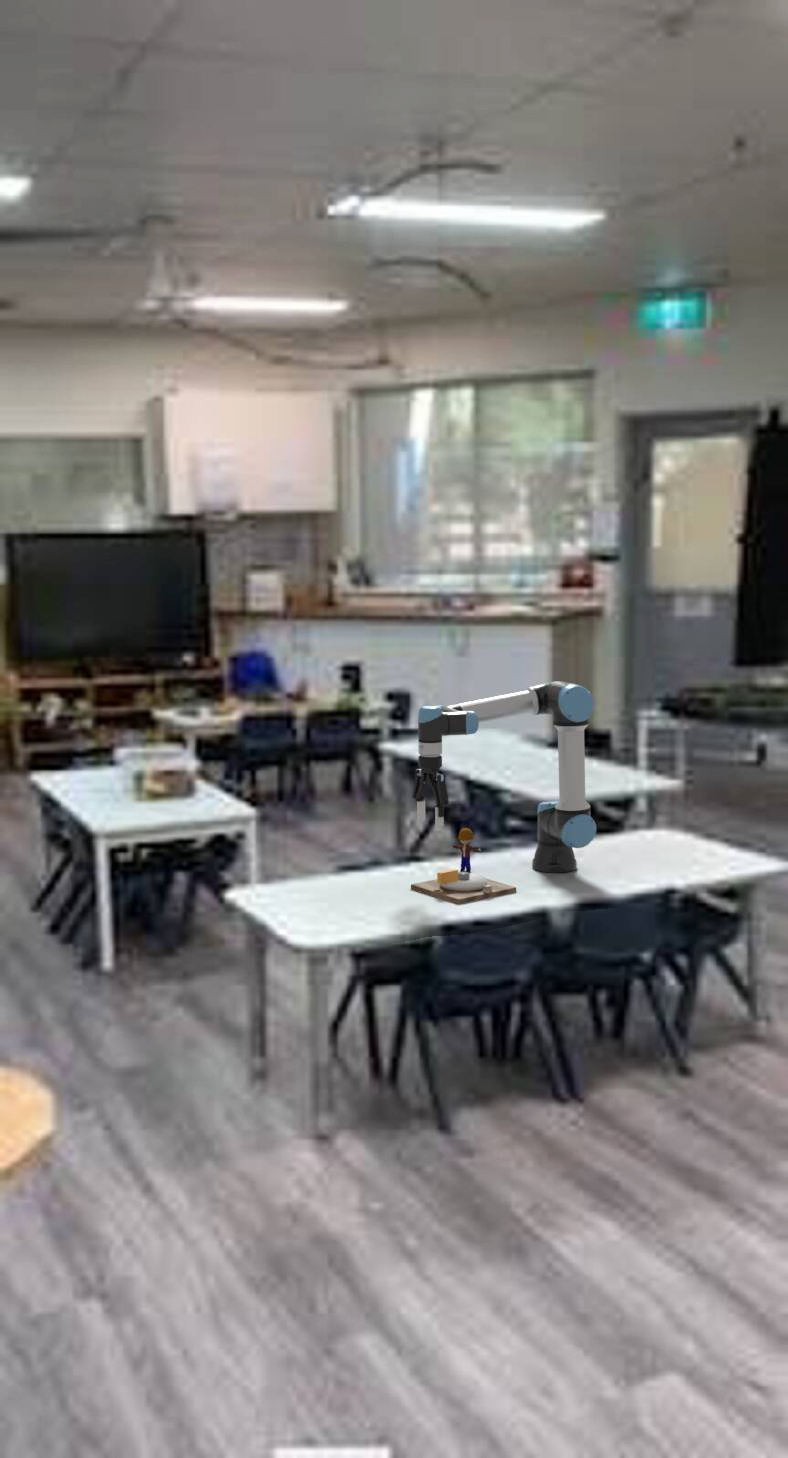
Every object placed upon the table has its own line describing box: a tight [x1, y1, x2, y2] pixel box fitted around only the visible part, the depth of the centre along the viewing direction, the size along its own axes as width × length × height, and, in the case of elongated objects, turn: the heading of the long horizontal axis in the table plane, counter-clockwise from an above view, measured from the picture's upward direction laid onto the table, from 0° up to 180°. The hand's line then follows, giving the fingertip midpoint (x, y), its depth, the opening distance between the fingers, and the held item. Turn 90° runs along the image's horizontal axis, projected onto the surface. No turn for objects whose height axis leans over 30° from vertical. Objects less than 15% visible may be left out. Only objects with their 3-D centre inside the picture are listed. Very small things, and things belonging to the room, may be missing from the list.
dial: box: [436, 868, 488, 891], centre depth 461 cm, size 18×15×6 cm
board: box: [410, 878, 517, 905], centre depth 462 cm, size 24×24×4 cm
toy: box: [450, 827, 482, 873], centre depth 486 cm, size 11×6×15 cm, turn 62°
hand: (430, 824), depth 460 cm, fingers open, 10 cm apart
